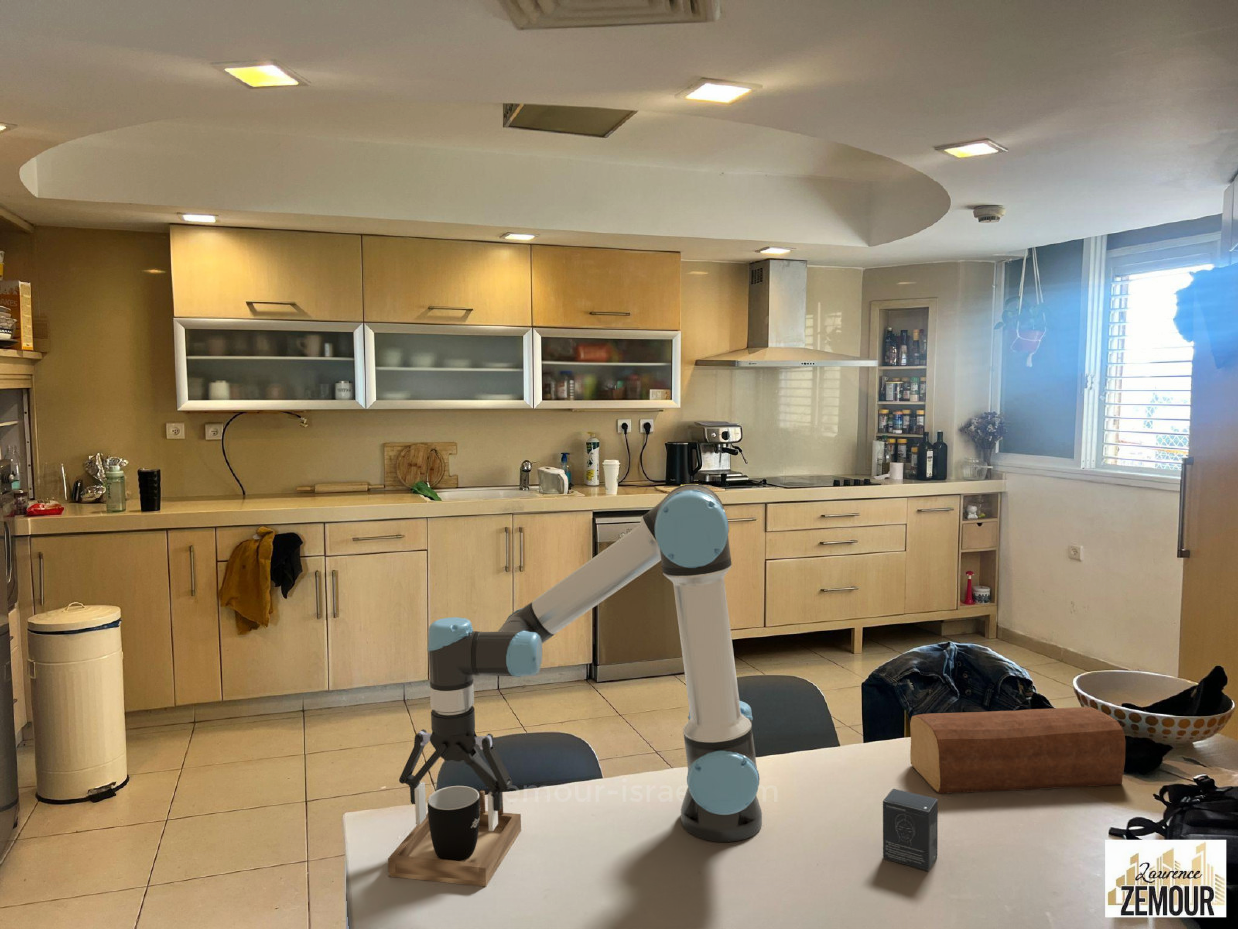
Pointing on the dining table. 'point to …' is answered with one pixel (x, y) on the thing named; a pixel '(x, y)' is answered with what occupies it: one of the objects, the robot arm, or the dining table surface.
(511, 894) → the dining table surface
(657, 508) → the robot arm
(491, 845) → the rack
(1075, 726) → the bread
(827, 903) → the dining table surface
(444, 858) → the mug
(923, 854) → the box
